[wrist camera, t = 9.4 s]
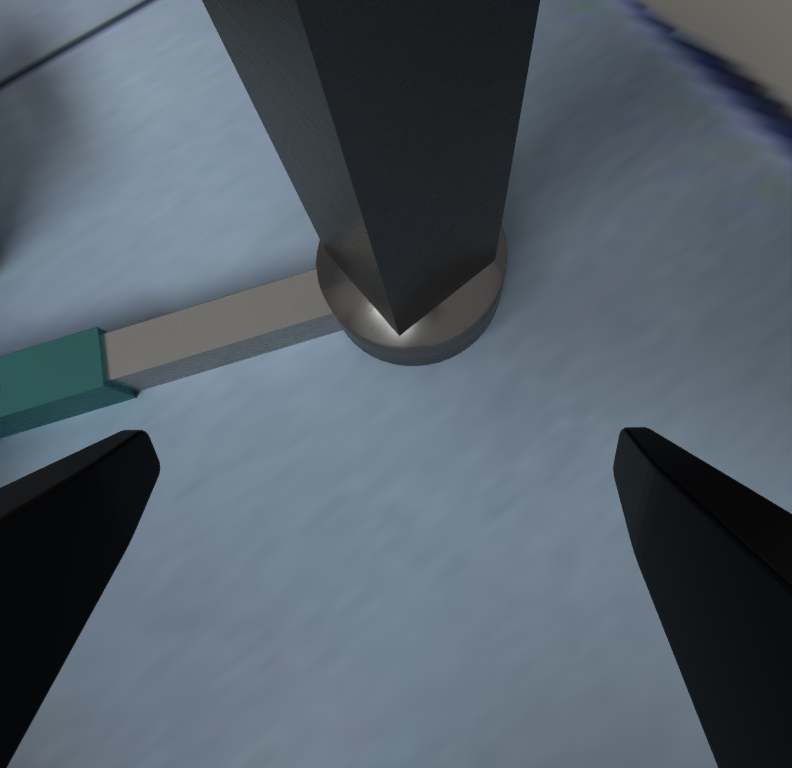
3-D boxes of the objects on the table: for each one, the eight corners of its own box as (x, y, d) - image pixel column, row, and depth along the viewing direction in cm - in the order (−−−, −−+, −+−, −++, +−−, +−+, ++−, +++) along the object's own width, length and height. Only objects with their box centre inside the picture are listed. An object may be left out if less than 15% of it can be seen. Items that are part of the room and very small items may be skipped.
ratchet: (524, 337, 19) (548, 279, 14) (-39, 502, 20) (-195, 501, 15) (470, 191, 21) (475, 96, 16) (-42, 349, 22) (-182, 304, 17)
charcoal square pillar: (495, 259, 17) (609, -399, 5) (399, 336, 17) (248, -152, 4) (417, 182, 18) (342, -514, 6) (326, 252, 18) (42, -323, 6)
